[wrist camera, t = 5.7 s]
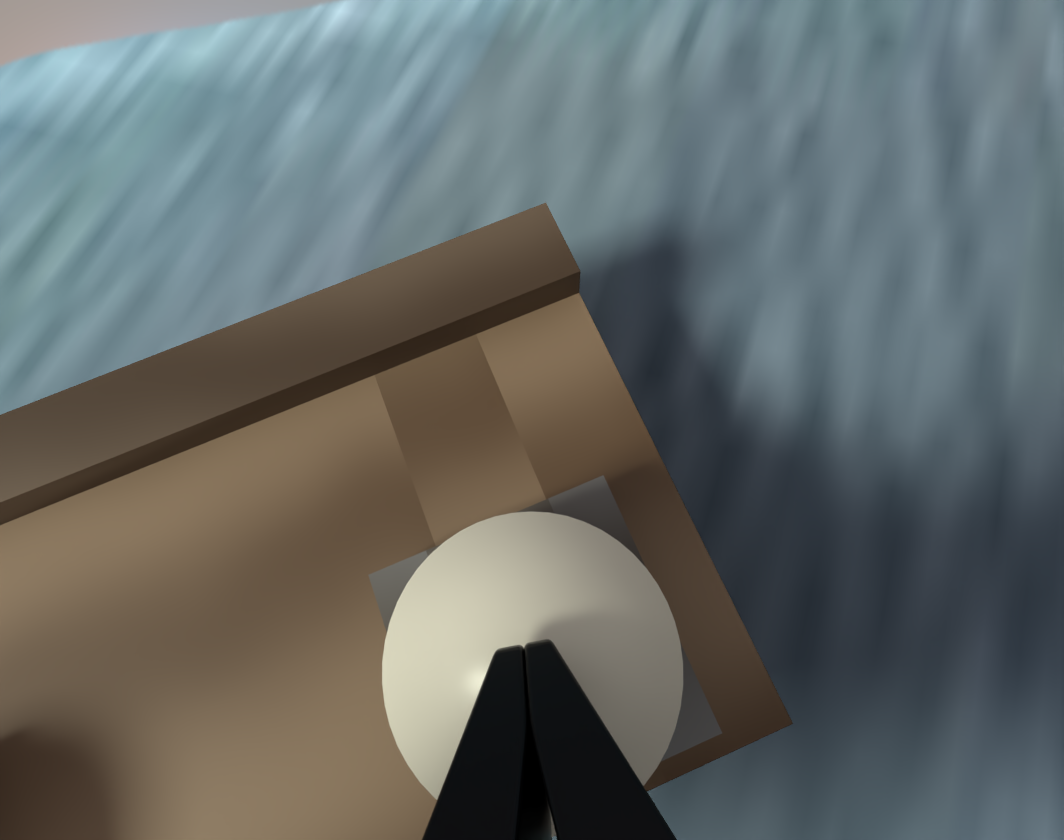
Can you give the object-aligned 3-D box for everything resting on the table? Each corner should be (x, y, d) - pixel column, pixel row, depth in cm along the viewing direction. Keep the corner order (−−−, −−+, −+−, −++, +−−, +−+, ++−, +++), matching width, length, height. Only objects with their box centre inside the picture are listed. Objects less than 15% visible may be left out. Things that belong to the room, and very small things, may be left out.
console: (740, 692, 15) (819, 739, 10) (-128, 1090, 13) (-488, 1349, 9) (549, 295, 18) (545, 197, 13) (-156, 578, 17) (-424, 574, 12)
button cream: (662, 582, 15) (722, 577, 9) (597, 772, 13) (621, 900, 8) (495, 513, 15) (457, 469, 10) (421, 688, 14) (329, 751, 9)
